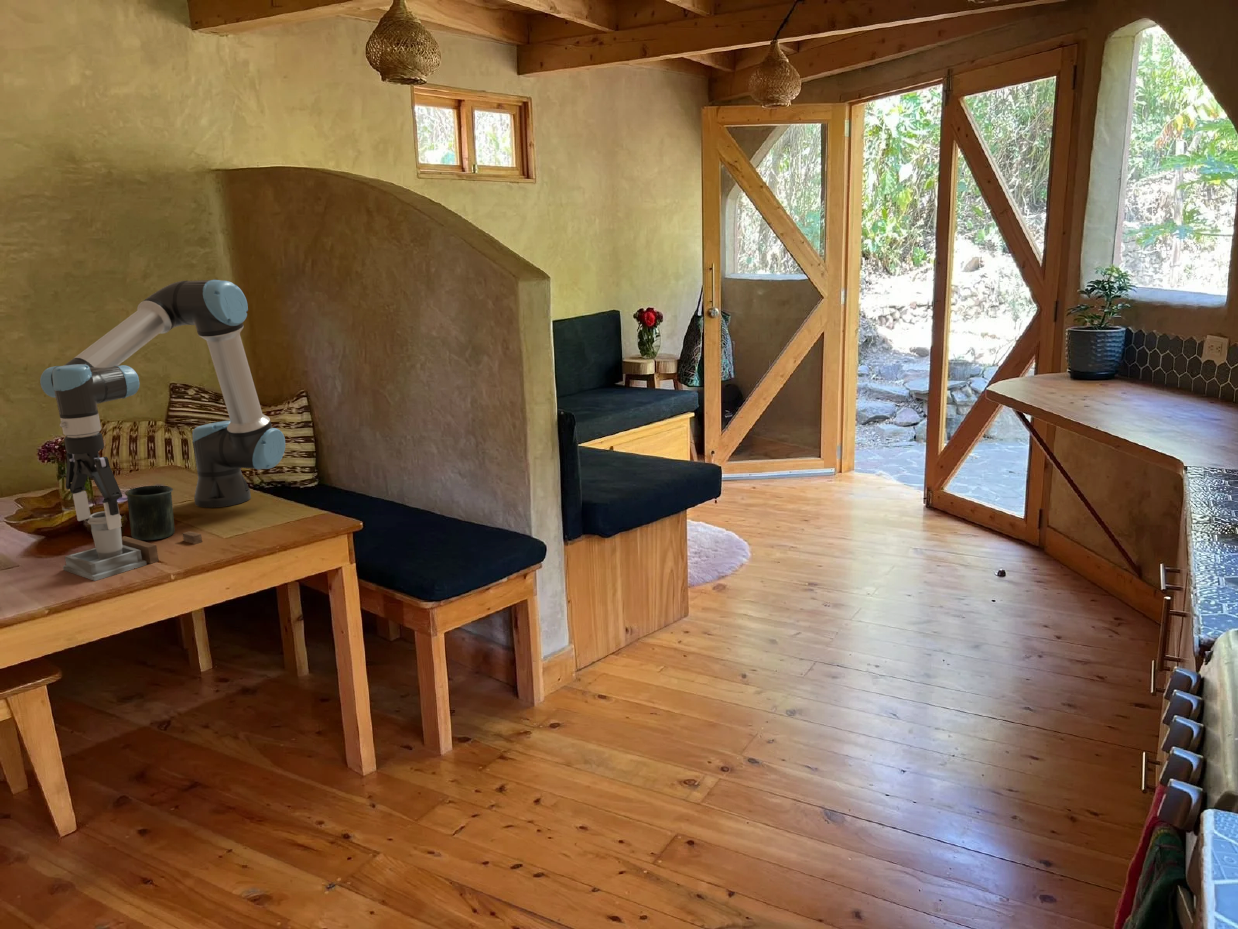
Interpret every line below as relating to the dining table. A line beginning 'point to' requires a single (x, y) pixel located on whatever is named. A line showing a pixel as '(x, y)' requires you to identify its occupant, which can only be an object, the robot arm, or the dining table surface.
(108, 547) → the cup
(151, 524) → the mug
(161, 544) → the dining table surface
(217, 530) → the dining table surface
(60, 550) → the dining table surface
